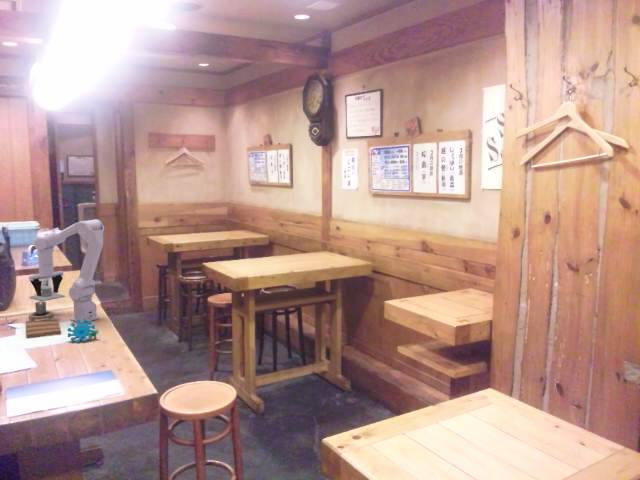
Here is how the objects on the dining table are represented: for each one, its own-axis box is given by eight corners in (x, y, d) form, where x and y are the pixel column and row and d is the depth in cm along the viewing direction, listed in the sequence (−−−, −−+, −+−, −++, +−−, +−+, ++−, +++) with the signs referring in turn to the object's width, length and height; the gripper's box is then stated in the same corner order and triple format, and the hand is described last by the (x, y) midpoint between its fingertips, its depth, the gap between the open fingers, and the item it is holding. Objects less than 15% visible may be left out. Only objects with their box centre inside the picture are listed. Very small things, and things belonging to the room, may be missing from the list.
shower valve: (49, 283, 282) (65, 286, 274) (50, 293, 283) (65, 297, 274) (25, 287, 272) (41, 291, 264) (26, 297, 273) (41, 302, 264)
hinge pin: (48, 320, 232) (47, 302, 231) (39, 322, 228) (38, 304, 227) (43, 318, 234) (42, 301, 233) (34, 321, 231) (33, 302, 230)
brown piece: (60, 333, 213) (60, 326, 213) (26, 338, 207) (26, 330, 207) (56, 316, 238) (56, 309, 238) (25, 319, 232) (25, 313, 232)
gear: (63, 340, 201) (71, 316, 207) (66, 347, 205) (74, 324, 212) (93, 343, 202) (101, 319, 208) (96, 350, 207) (103, 327, 213)
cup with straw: (49, 295, 277) (47, 256, 274) (33, 294, 278) (31, 256, 275) (60, 291, 285) (58, 254, 282) (44, 290, 286) (42, 253, 284)
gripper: (56, 260, 244) (58, 289, 246) (24, 265, 232) (26, 295, 234) (65, 262, 240) (66, 292, 242) (33, 267, 228) (34, 298, 230)
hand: (47, 294), depth 238 cm, fingers open, 7 cm apart
